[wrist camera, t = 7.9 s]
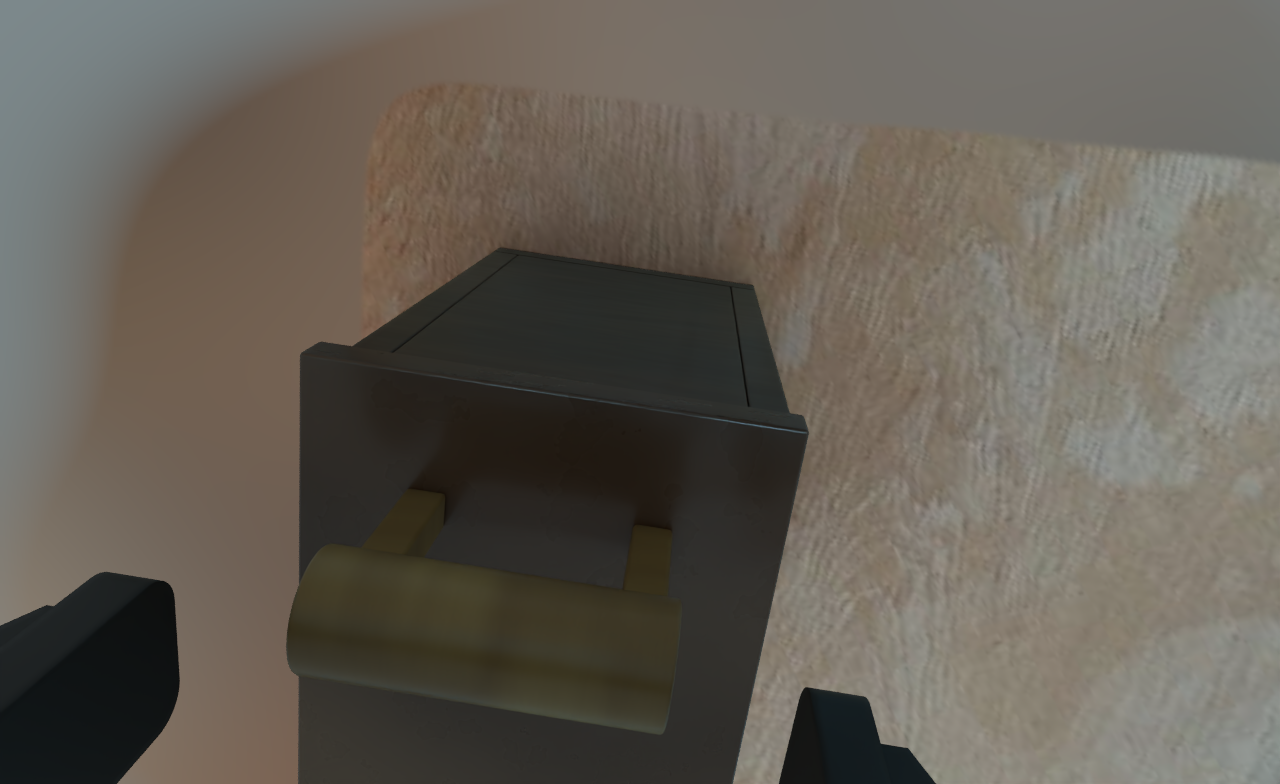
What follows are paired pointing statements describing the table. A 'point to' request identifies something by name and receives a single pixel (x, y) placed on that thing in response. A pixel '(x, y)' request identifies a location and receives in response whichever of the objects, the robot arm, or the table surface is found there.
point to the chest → (596, 328)
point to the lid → (528, 574)
